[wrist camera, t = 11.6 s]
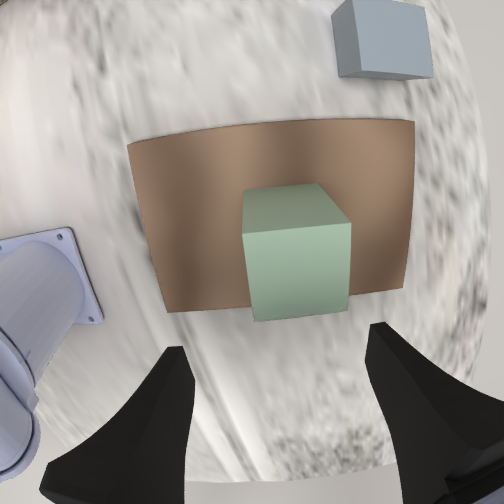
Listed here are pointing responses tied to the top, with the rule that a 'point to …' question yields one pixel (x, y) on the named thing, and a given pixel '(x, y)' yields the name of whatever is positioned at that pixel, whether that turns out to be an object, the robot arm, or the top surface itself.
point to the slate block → (382, 40)
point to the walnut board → (265, 176)
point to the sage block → (295, 252)
